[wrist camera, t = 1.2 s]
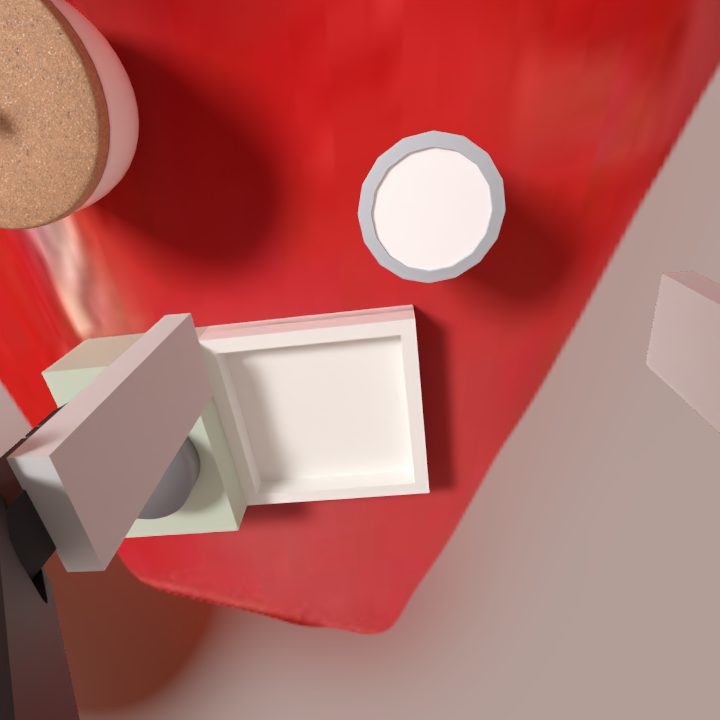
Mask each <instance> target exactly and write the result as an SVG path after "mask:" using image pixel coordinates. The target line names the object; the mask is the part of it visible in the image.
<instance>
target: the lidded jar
mask: <svg viewBox="0 0 720 720" xmlns="http://www.w3.org/2000/svg"><path fill="white" fill-rule="evenodd" d="M138 136H139V116H138V107H137V102H136V98H135V94H134V90H133V88H132V85H131V82H130V79H129V77H128V75H127V73H126V71H125V69H124V67H123V65H122V63H121V61H120V59H119V58H118V56H117V54H116V53H115V51H114V50H113V48H112V47H111V46H110V44H109V43H108V41H107V40H106V39H105V37H104V36H103V35H102V34H101V33H100V32H99V30H98V29H97V28H96V27H95V26H94V25H93V24H92V23H91V22H90V21H89V20H88V19H86V18H85V17H84V16H83V15H82V14H81V13H80V12H79V11H77V10H76V9H75V8H74V7H73V6H72V5H71V4H69V3H68V2H67V1H65V0H0V228H3V229H12V230H13V229H30V228H35V227H39V226H44V225H47V224H51V223H53V222H56V221H58V220H60V219H62V218H65V217H67V216H69V215H70V214H72V213H75V212H77V211H79V210H82V209H84V208H86V207H88V206H90V205H92V204H94V203H95V202H97V201H98V200H100V199H101V198H102V197H104V196H105V195H107V194H108V193H109V192H110V191H111V190H112V189H113V188H114V187H115V186H116V185H117V184H118V183H119V182H120V181H121V180H122V178H123V177H124V175H125V174H126V172H127V170H128V169H129V167H130V165H131V162H132V160H133V157H134V154H135V151H136V147H137V142H138Z"/></svg>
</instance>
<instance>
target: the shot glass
mask: <svg viewBox="0 0 720 720" xmlns="http://www.w3.org/2000/svg"><path fill="white" fill-rule="evenodd" d="M505 211H506V208H505V197H504V187H503V179H502V178H501V176H500V174H499V172H498V170H497V169H496V167H495V165H494V163H493V161H492V160H491V158H490V156H489V154H488V153H487V152H485V151H484V150H482V149H481V148H480V147H478V146H477V145H475V144H474V143H473V142H471V141H470V140H468V139H467V138H466V137H464V136H461V135H455V134H450V133H444V132H439V131H430V132H426V133H422V134H418V135H414V136H411V137H407V138H403V139H402V140H400V141H399V142H398V143H397V144H395V145H394V146H393V147H391V148H390V149H389V150H387V151H386V152H385V153H384V154H382V155H381V156H380V157H378V159H377V160H376V162H375V164H374V166H373V167H372V169H371V171H370V172H369V174H368V176H367V177H366V179H365V181H364V183H363V184H362V190H361V196H360V203H359V209H358V218H359V222H360V226H361V231H362V235H363V239H364V243H365V244H366V245H367V247H368V248H369V250H370V251H371V252H372V254H373V255H374V257H375V258H376V259H377V261H378V262H379V264H380V265H382V266H383V267H385V268H387V269H388V270H390V271H391V272H393V273H395V274H396V275H398V276H399V277H401V278H403V279H408V280H414V281H420V282H426V283H432V282H436V281H441V280H446V279H450V278H455V277H457V276H459V275H460V274H462V273H463V272H465V271H467V270H468V269H470V268H471V267H473V266H474V265H476V264H477V263H479V262H480V261H481V260H482V258H483V257H484V256H485V254H486V253H487V252H488V250H489V249H490V248H491V246H492V245H493V244H494V242H495V241H496V240H497V238H498V235H499V231H500V228H501V224H502V221H503V217H504V214H505Z"/></svg>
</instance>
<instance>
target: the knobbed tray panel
mask: <svg viewBox="0 0 720 720" xmlns="http://www.w3.org/2000/svg"><path fill="white" fill-rule="evenodd" d="M195 330H196V334H197V337H198V341H199V345H200V348H201V352H202V355H203V359H204V363H205V366H206V370H207V374H208V377H209V381H210V384H211V388H212V392H213V396H212V397H211V399H210V400H209V402H208V404H207V405H206V407H205V409H204V410H203V412H202V413H201V415H200V417H199V418H198V420H197V422H196V423H195V425H194V426H193V428H192V430H191V431H190V433H189V435H188V436H187V438H186V439H185V441H184V443H183V444H182V446H181V447H180V449H179V451H178V452H177V454H176V456H175V457H174V459H173V460H172V462H171V464H170V465H169V467H168V469H167V470H166V472H165V473H164V475H163V477H162V478H161V480H160V482H159V483H158V485H157V486H156V488H155V490H154V491H153V493H152V494H151V496H150V498H149V499H148V501H147V503H146V504H145V506H144V507H143V509H142V511H141V512H140V514H139V516H138V517H137V519H136V520H135V522H134V524H133V525H132V527H131V529H130V530H129V532H128V533H127V535H126V537H125V538H129V537H144V536H159V535H175V534H190V533H206V532H221V531H237V530H239V527H240V525H241V522H242V519H243V516H244V513H245V510H246V507H247V505H261V504H276V503H290V502H304V501H319V500H333V499H347V498H362V497H376V496H390V495H405V494H419V493H429V481H428V469H427V457H426V445H425V432H424V420H423V408H422V396H421V383H420V371H419V359H418V347H417V335H416V322H415V315H414V309H413V305H403V306H394V307H384V308H375V309H365V310H356V311H347V312H337V313H328V314H318V315H309V316H300V317H290V318H281V319H271V320H262V321H253V322H243V323H234V324H224V325H215V326H205V327H196V328H195ZM144 334H145V333H140V334H130V335H121V336H111V337H102V338H92V339H86V340H85V341H83V342H82V343H81V344H79V345H78V346H77V347H75V348H74V349H73V350H71V351H70V352H69V353H67V354H66V355H65V356H63V357H62V358H61V359H59V360H58V361H57V362H55V363H54V364H53V365H51V366H50V367H49V368H47V369H46V370H45V371H43V372H42V375H43V377H44V379H45V381H46V383H47V385H48V387H49V389H50V391H51V393H52V395H53V398H54V400H55V402H56V404H57V406H58V408H59V407H61V406H63V405H65V404H66V403H68V402H69V401H71V400H72V399H73V398H74V397H75V396H76V395H77V394H78V393H79V392H81V391H82V390H83V389H84V388H85V387H86V386H87V385H88V384H89V383H91V382H92V381H93V380H94V379H95V378H96V377H97V376H98V375H99V374H101V373H102V372H103V371H104V370H105V369H106V368H107V367H108V366H109V365H111V364H112V363H113V362H114V361H115V360H116V359H117V358H118V357H119V356H121V355H122V354H123V353H124V352H125V351H126V350H127V349H128V348H130V347H131V346H132V345H133V344H134V343H135V342H136V341H137V340H138V339H140V338H141V337H142V336H143V335H144Z"/></svg>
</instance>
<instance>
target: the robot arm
mask: <svg viewBox="0 0 720 720" xmlns="http://www.w3.org/2000/svg"><path fill="white" fill-rule="evenodd" d="M646 365H647V366H648V367H649V368H650V369H651V370H652V371H653V372H654V373H655V374H656V375H658V376H659V377H660V378H661V379H662V380H663V381H664V382H665V383H666V384H667V385H668V386H669V387H671V388H672V389H673V390H674V391H675V392H676V393H677V394H678V395H679V396H680V397H681V398H682V399H683V400H684V401H686V402H687V403H688V404H689V405H690V406H691V407H692V408H693V409H694V410H695V411H696V412H697V413H698V414H700V415H701V416H702V417H703V418H704V419H705V420H706V421H707V422H708V423H709V424H710V425H711V426H713V427H714V428H715V429H716V430H717V431H718V432H719V433H720V284H718V283H716V282H714V281H712V280H710V279H708V278H706V277H704V276H701V275H700V274H698V273H696V272H694V271H684V272H671V273H662V276H661V282H660V287H659V293H658V298H657V304H656V309H655V315H654V320H653V326H652V331H651V337H650V343H649V348H648V353H647V359H646ZM212 396H213V392H212V388H211V384H210V381H209V377H208V374H207V370H206V366H205V363H204V359H203V355H202V352H201V348H200V345H199V341H198V337H197V334H196V330H195V327H194V323H193V319H192V316H191V313H185V314H173V315H165V316H164V317H163V318H162V319H161V320H160V321H158V322H157V323H156V324H155V325H154V326H153V327H152V328H151V329H150V330H148V331H147V332H146V333H145V334H144V335H143V336H142V337H141V338H140V339H138V340H137V341H136V342H135V343H134V344H133V345H132V346H131V347H130V348H128V349H127V350H126V351H125V352H124V353H123V354H122V355H121V356H119V357H118V358H117V359H116V360H115V361H114V362H113V363H112V364H111V365H109V366H108V367H107V368H106V369H105V370H104V371H103V372H102V373H101V374H99V375H98V376H97V377H96V378H95V379H94V380H93V381H92V382H91V383H89V384H88V385H87V386H86V387H85V388H84V389H83V390H82V391H81V392H79V393H78V394H77V395H76V396H75V397H74V398H73V399H72V400H71V401H69V402H68V403H66V404H65V405H63V406H61V407H59V408H58V409H56V410H54V411H53V412H52V413H51V414H49V415H48V416H47V417H46V418H45V419H44V420H43V421H41V422H40V423H39V424H38V427H35V428H34V429H32V430H31V431H30V432H29V433H28V434H27V435H26V438H23V439H21V440H20V441H19V442H18V443H17V444H15V445H14V446H13V447H12V448H11V449H10V450H9V451H8V452H6V453H5V454H4V455H3V456H2V457H1V458H0V720H80V719H79V715H78V710H77V705H76V700H75V696H74V691H73V687H72V682H71V677H70V672H69V668H68V663H67V659H66V653H65V649H64V644H63V639H62V634H61V630H60V625H59V620H58V615H57V611H56V606H55V601H54V596H53V592H52V587H51V582H50V579H49V577H48V575H47V574H46V572H45V570H44V568H43V565H44V564H45V563H46V561H47V560H48V559H49V557H50V556H51V555H52V553H53V552H54V551H55V550H56V552H57V554H58V556H59V557H60V559H61V561H62V563H63V565H64V567H65V569H66V570H67V572H76V571H77V572H78V571H103V570H105V569H106V567H107V566H108V564H109V562H110V561H111V559H112V558H113V556H114V554H115V553H116V551H117V550H118V548H119V546H120V545H121V543H122V541H123V540H124V538H125V537H126V535H127V533H128V532H129V530H130V529H131V527H132V525H133V524H134V522H135V520H136V519H137V517H138V516H139V514H140V512H141V511H142V509H143V507H144V506H145V504H146V503H147V501H148V499H149V498H150V496H151V494H152V493H153V491H154V490H155V488H156V486H157V485H158V483H159V482H160V480H161V478H162V477H163V475H164V473H165V472H166V470H167V469H168V467H169V465H170V464H171V462H172V460H173V459H174V457H175V456H176V454H177V452H178V451H179V449H180V447H181V446H182V444H183V443H184V441H185V439H186V438H187V436H188V435H189V433H190V431H191V430H192V428H193V426H194V425H195V423H196V422H197V420H198V418H199V417H200V415H201V413H202V412H203V410H204V409H205V407H206V405H207V404H208V402H209V400H210V399H211V397H212Z"/></svg>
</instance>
